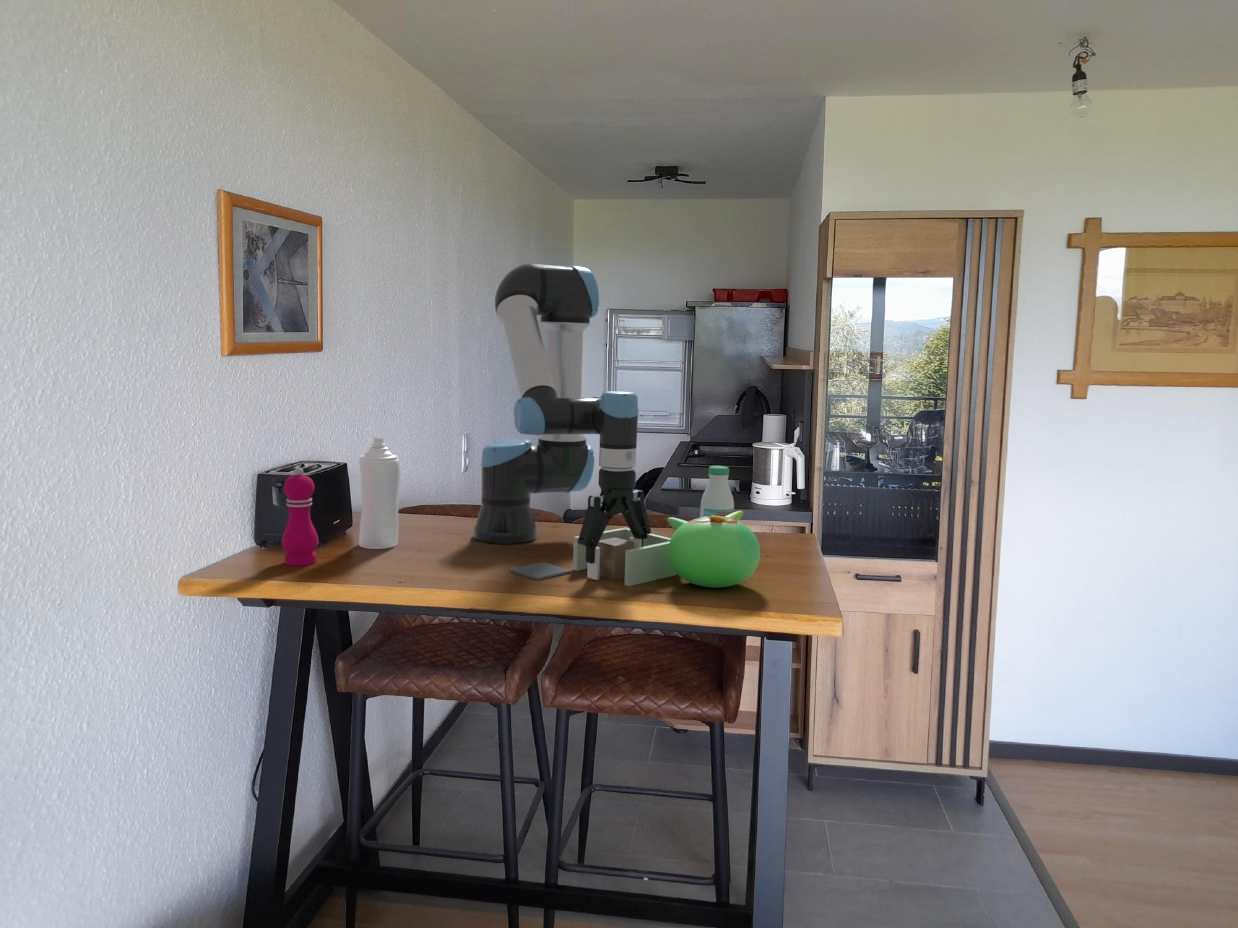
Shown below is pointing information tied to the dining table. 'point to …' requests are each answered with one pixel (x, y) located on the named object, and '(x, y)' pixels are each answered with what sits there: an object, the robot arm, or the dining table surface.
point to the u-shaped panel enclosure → (634, 557)
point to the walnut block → (613, 557)
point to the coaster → (540, 570)
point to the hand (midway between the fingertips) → (614, 573)
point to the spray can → (379, 497)
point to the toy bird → (713, 550)
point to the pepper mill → (299, 521)
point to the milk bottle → (717, 494)
